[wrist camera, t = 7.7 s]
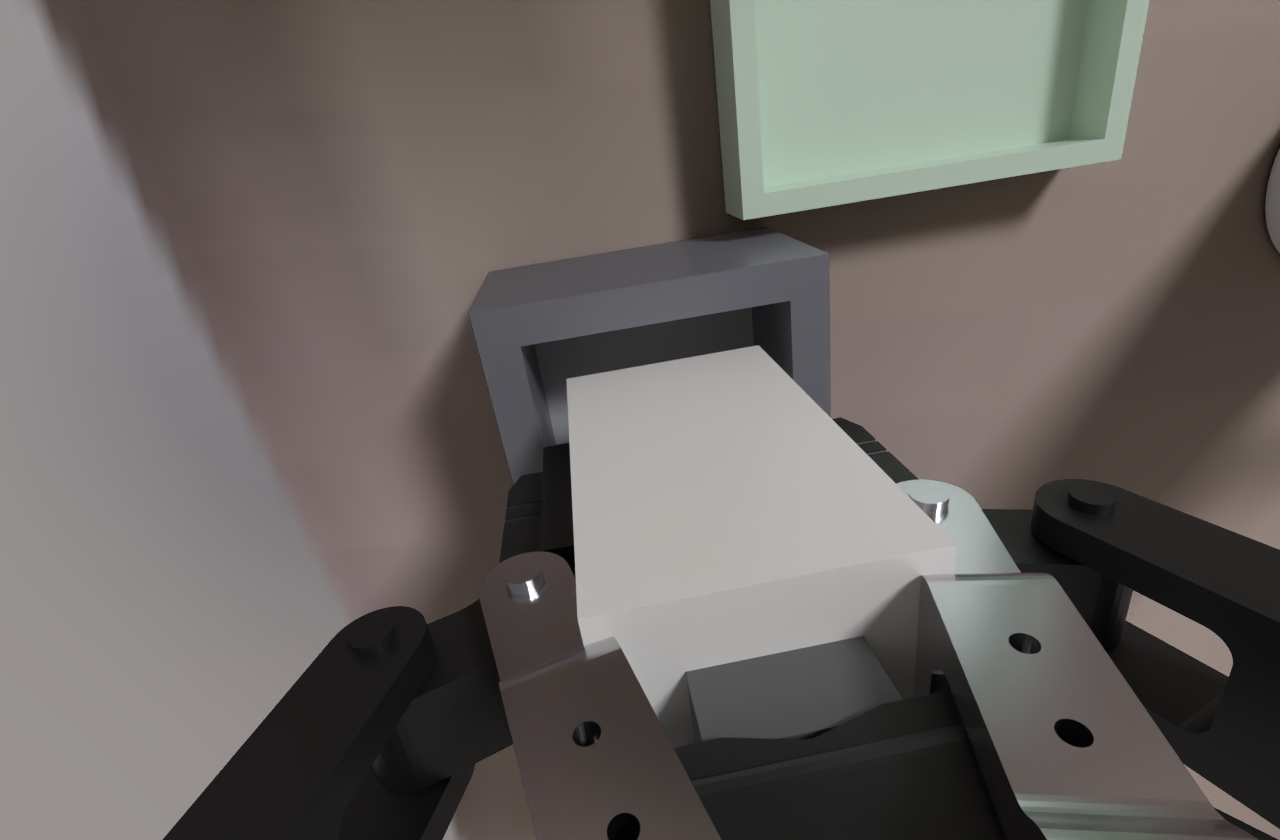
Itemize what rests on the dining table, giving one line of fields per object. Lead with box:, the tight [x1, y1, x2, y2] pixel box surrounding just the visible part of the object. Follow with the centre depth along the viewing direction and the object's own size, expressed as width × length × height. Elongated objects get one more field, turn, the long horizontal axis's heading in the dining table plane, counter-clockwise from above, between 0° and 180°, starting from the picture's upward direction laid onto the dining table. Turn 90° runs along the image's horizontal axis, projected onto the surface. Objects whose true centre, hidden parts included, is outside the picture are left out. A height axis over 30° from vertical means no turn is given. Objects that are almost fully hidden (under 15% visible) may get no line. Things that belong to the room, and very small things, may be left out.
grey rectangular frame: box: [469, 227, 830, 485], centre depth 17 cm, size 16×7×4 cm, turn 8°
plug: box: [566, 345, 957, 748], centre depth 10 cm, size 4×4×8 cm
